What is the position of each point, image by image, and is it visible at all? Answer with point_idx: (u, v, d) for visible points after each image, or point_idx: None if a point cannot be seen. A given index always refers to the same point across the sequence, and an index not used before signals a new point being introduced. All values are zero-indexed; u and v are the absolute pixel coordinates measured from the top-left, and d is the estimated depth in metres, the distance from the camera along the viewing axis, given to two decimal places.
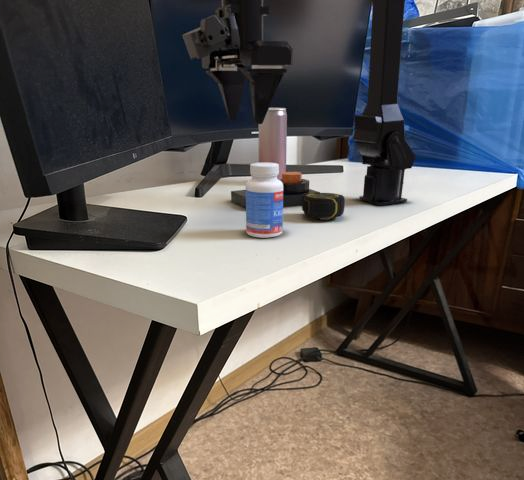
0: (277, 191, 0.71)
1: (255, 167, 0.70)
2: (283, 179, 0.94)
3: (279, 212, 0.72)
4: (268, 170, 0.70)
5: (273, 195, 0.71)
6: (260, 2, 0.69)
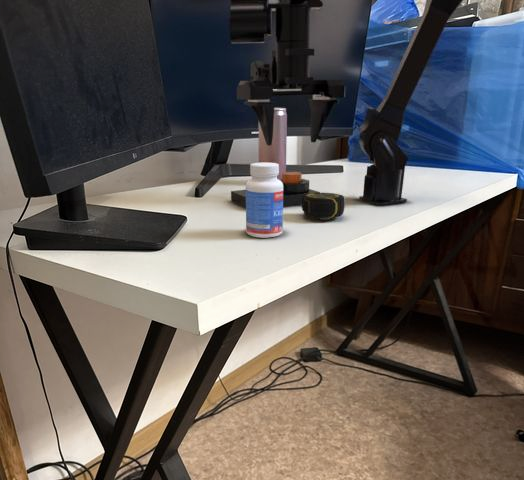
0: (277, 191, 0.71)
1: (255, 167, 0.70)
2: (283, 179, 0.94)
3: (279, 212, 0.72)
4: (268, 170, 0.70)
5: (273, 195, 0.71)
6: (285, 46, 0.82)
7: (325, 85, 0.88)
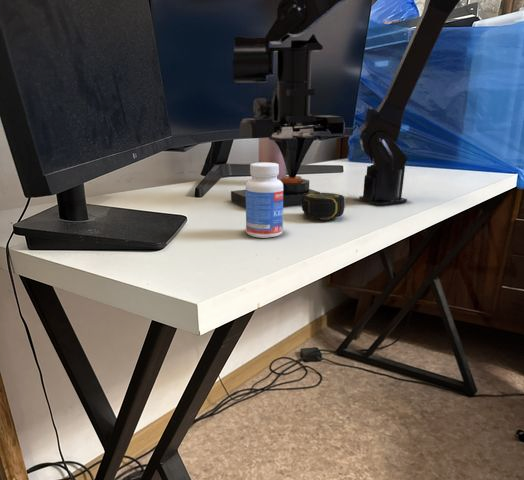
0: (277, 191, 0.71)
1: (255, 167, 0.70)
2: None
3: (279, 212, 0.72)
4: (268, 170, 0.70)
5: (273, 195, 0.71)
6: (286, 86, 0.86)
7: (325, 122, 0.91)
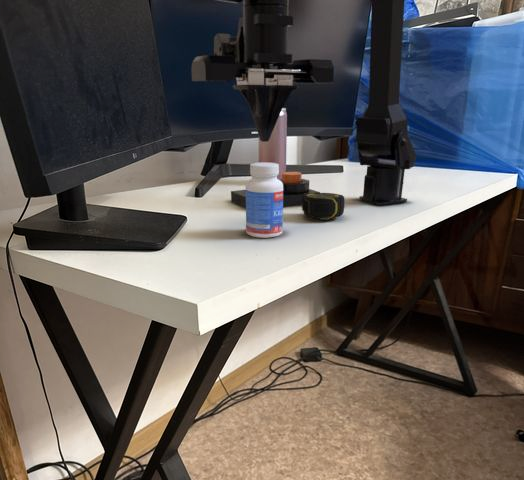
0: (276, 191, 0.71)
1: (255, 167, 0.70)
2: (283, 179, 0.94)
3: (279, 212, 0.72)
4: (268, 170, 0.70)
5: (273, 195, 0.71)
6: (254, 11, 0.62)
7: (308, 66, 0.68)
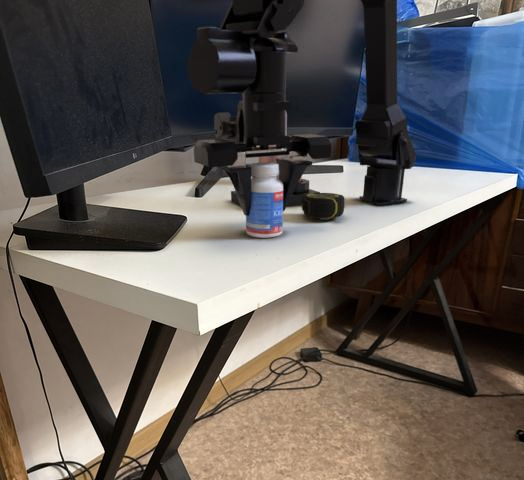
0: (277, 191, 0.71)
1: (255, 167, 0.70)
2: None
3: (279, 212, 0.72)
4: (268, 170, 0.70)
5: (273, 195, 0.71)
6: (253, 98, 0.65)
7: (305, 144, 0.70)
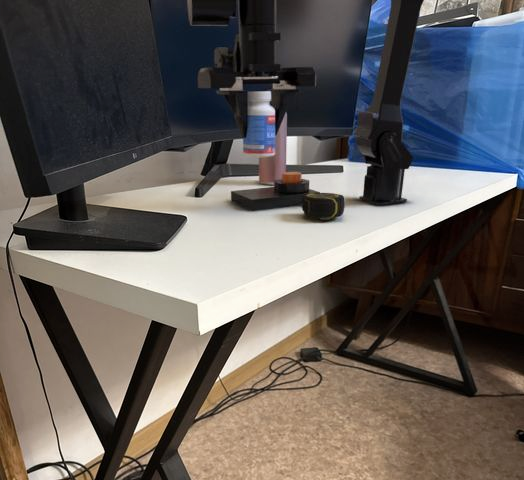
0: (269, 114, 0.82)
1: (250, 93, 0.81)
2: (283, 179, 0.94)
3: (272, 134, 0.83)
4: (262, 95, 0.81)
5: (266, 118, 0.82)
6: (248, 29, 0.76)
7: (294, 73, 0.81)
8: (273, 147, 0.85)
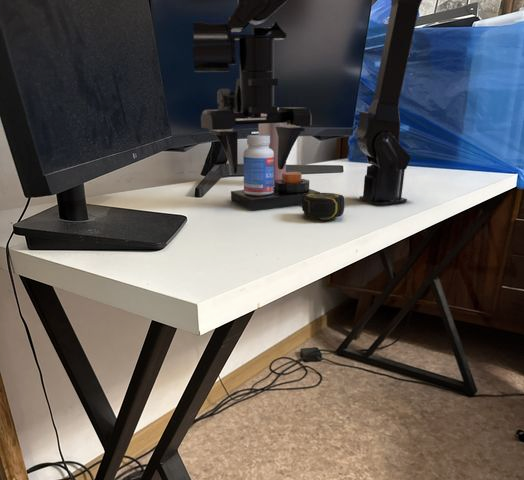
0: (268, 157, 0.88)
1: (251, 137, 0.87)
2: (283, 179, 0.94)
3: (271, 174, 0.90)
4: (261, 140, 0.87)
5: (265, 160, 0.88)
6: (248, 76, 0.82)
7: (290, 114, 0.87)
8: (271, 186, 0.91)
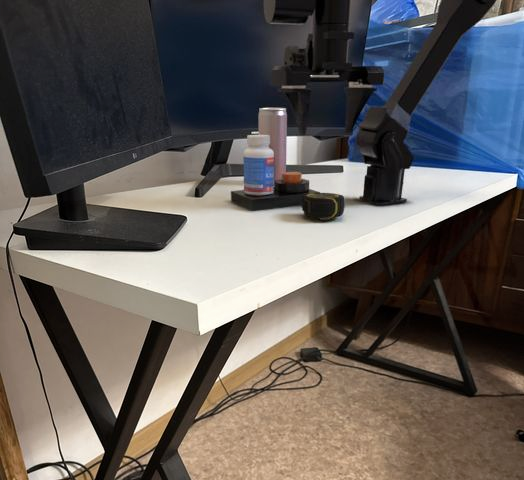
0: (268, 157, 0.88)
1: (251, 137, 0.87)
2: (283, 179, 0.94)
3: (271, 174, 0.90)
4: (261, 140, 0.87)
5: (265, 160, 0.88)
6: (324, 28, 0.77)
7: (363, 72, 0.83)
8: (271, 186, 0.91)
